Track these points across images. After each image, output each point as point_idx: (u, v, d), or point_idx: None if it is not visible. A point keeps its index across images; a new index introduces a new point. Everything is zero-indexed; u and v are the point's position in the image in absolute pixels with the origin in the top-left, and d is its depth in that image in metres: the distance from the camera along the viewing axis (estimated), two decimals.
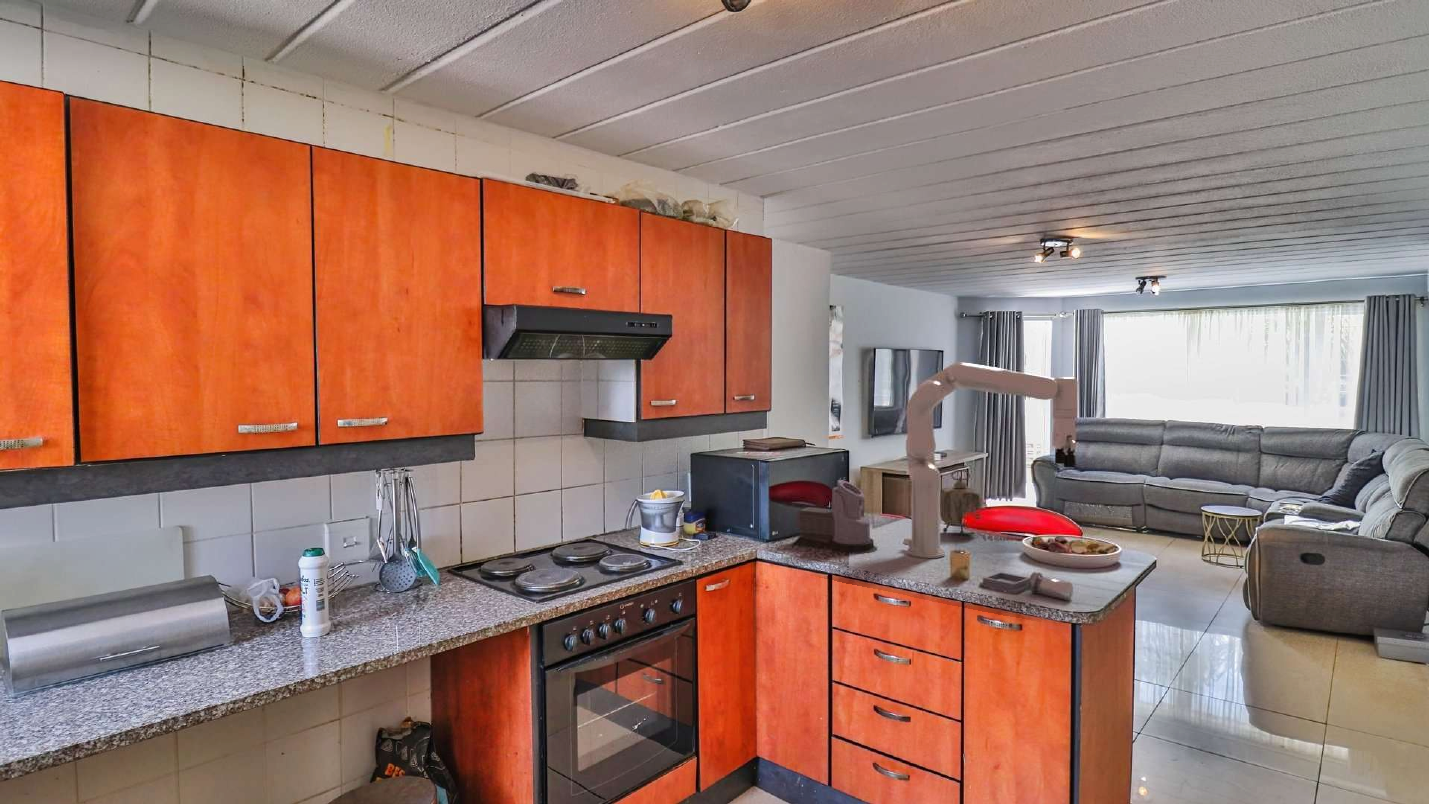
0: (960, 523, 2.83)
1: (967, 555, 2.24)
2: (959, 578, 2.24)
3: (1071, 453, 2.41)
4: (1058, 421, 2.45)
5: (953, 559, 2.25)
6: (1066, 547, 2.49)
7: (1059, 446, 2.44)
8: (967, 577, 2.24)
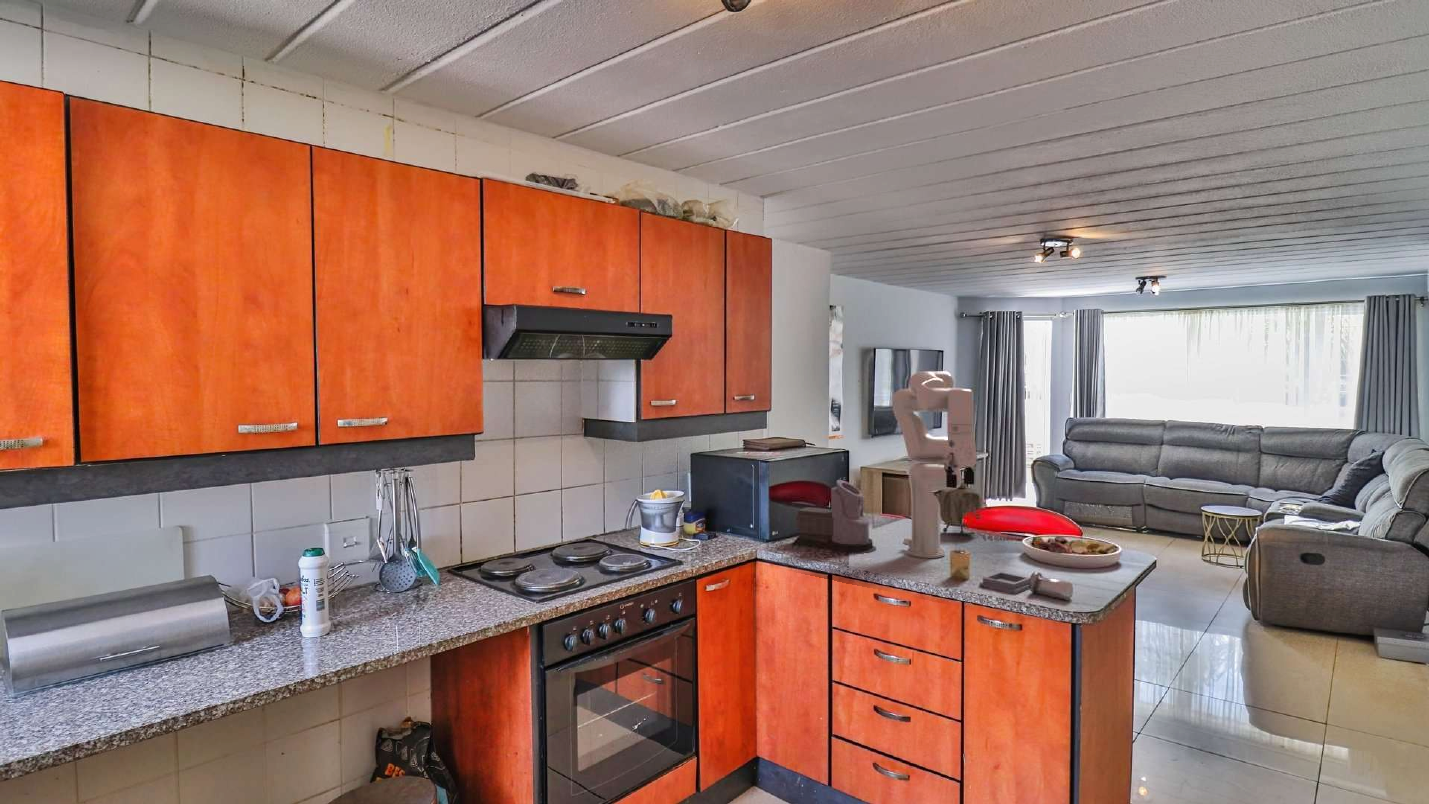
0: (960, 523, 2.83)
1: (967, 555, 2.24)
2: (959, 578, 2.24)
3: None
4: (972, 436, 2.24)
5: (953, 559, 2.25)
6: (1066, 547, 2.49)
7: (975, 463, 2.25)
8: (967, 577, 2.24)
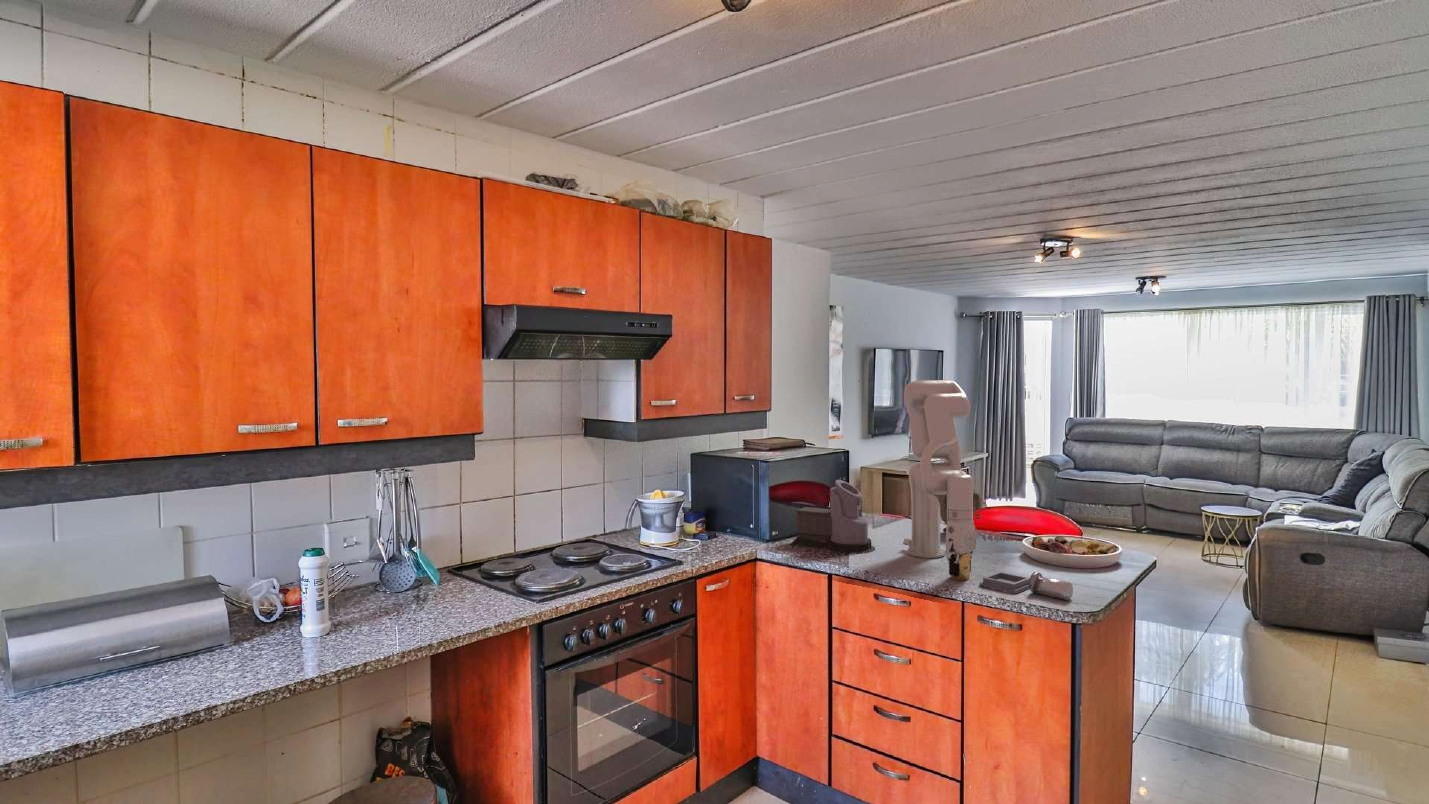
0: None
1: (967, 555, 2.24)
2: (959, 578, 2.24)
3: None
4: (971, 521, 2.25)
5: None
6: (1066, 547, 2.49)
7: (974, 548, 2.26)
8: (967, 577, 2.24)
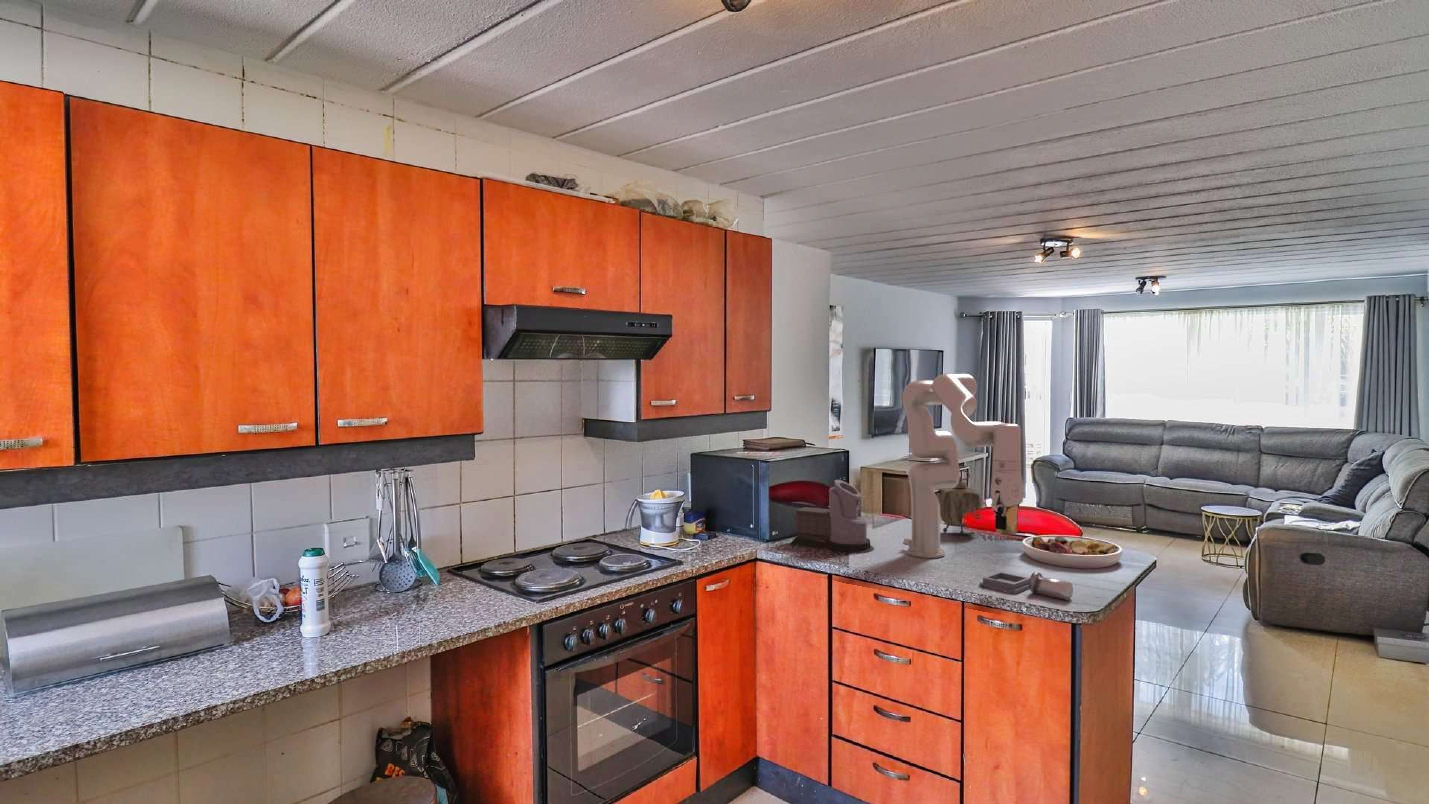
0: (960, 523, 2.83)
1: (1014, 508, 2.14)
2: (1006, 532, 2.14)
3: None
4: (1018, 473, 2.15)
5: None
6: (1066, 547, 2.48)
7: (1021, 501, 2.17)
8: (1014, 531, 2.14)
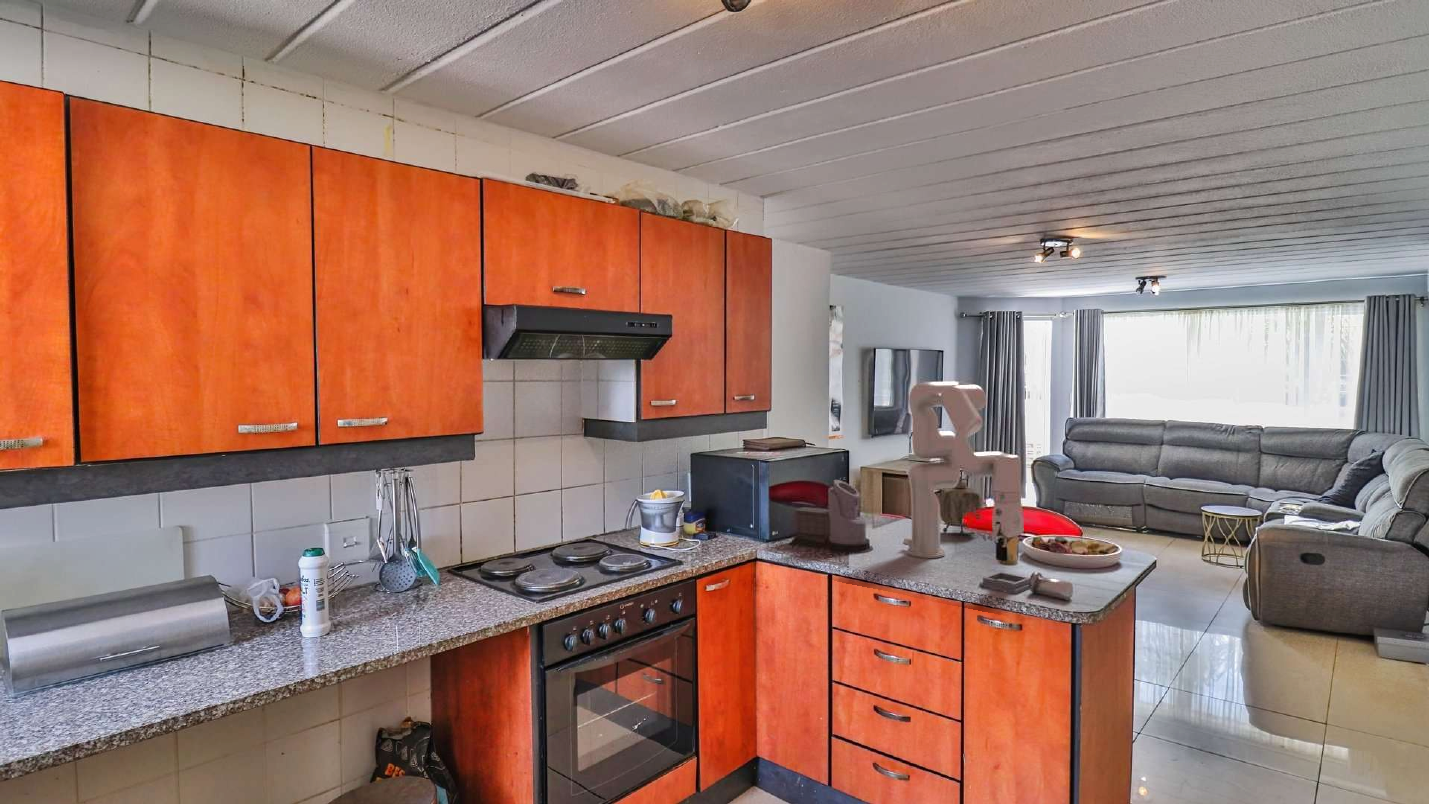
0: (960, 523, 2.83)
1: (1015, 539, 2.14)
2: (1007, 563, 2.14)
3: None
4: (1019, 504, 2.16)
5: None
6: (1066, 547, 2.48)
7: (1022, 531, 2.17)
8: (1015, 562, 2.14)
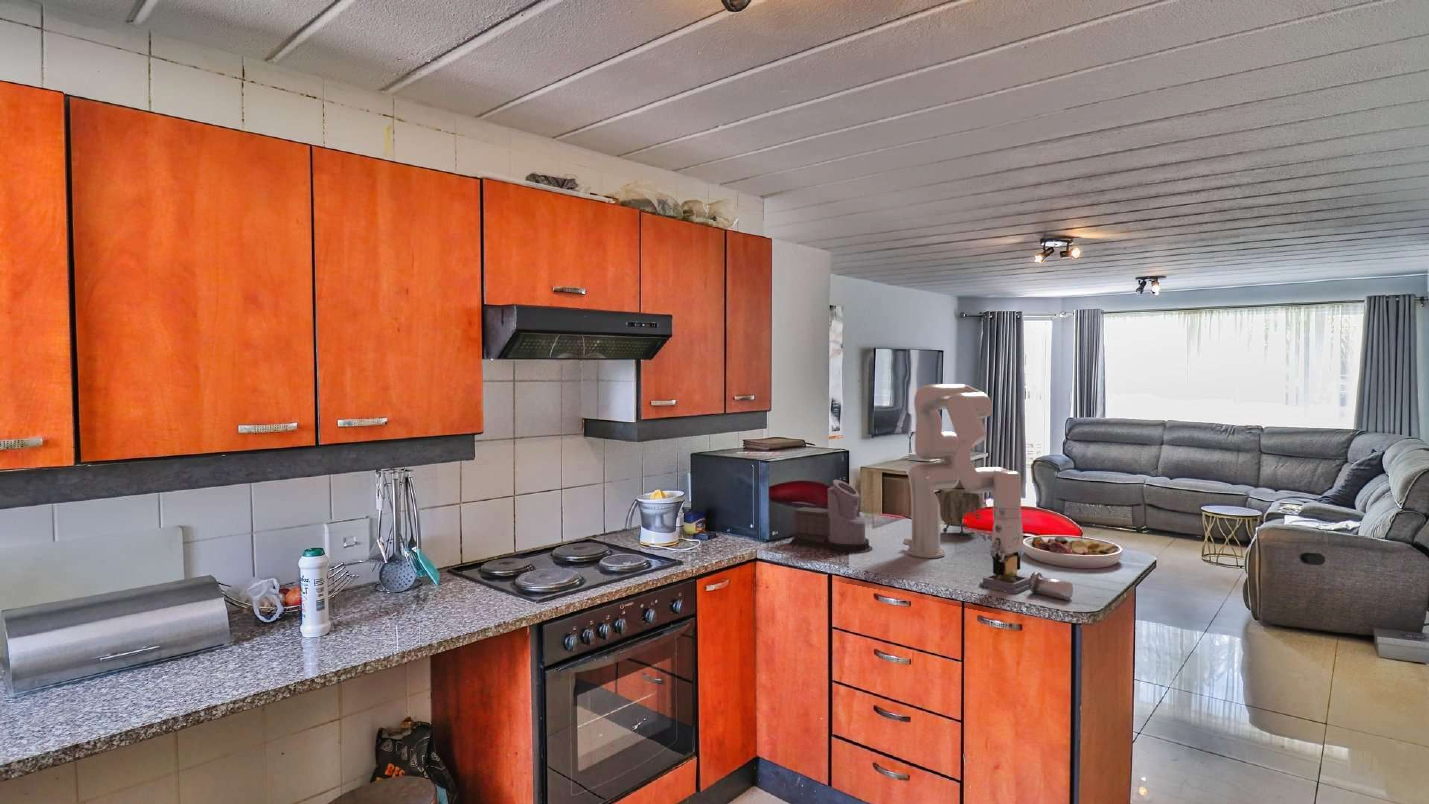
0: (960, 523, 2.83)
1: (1015, 559, 2.15)
2: None
3: None
4: (1019, 520, 2.16)
5: None
6: (1067, 547, 2.48)
7: (1022, 547, 2.17)
8: (1014, 582, 2.15)
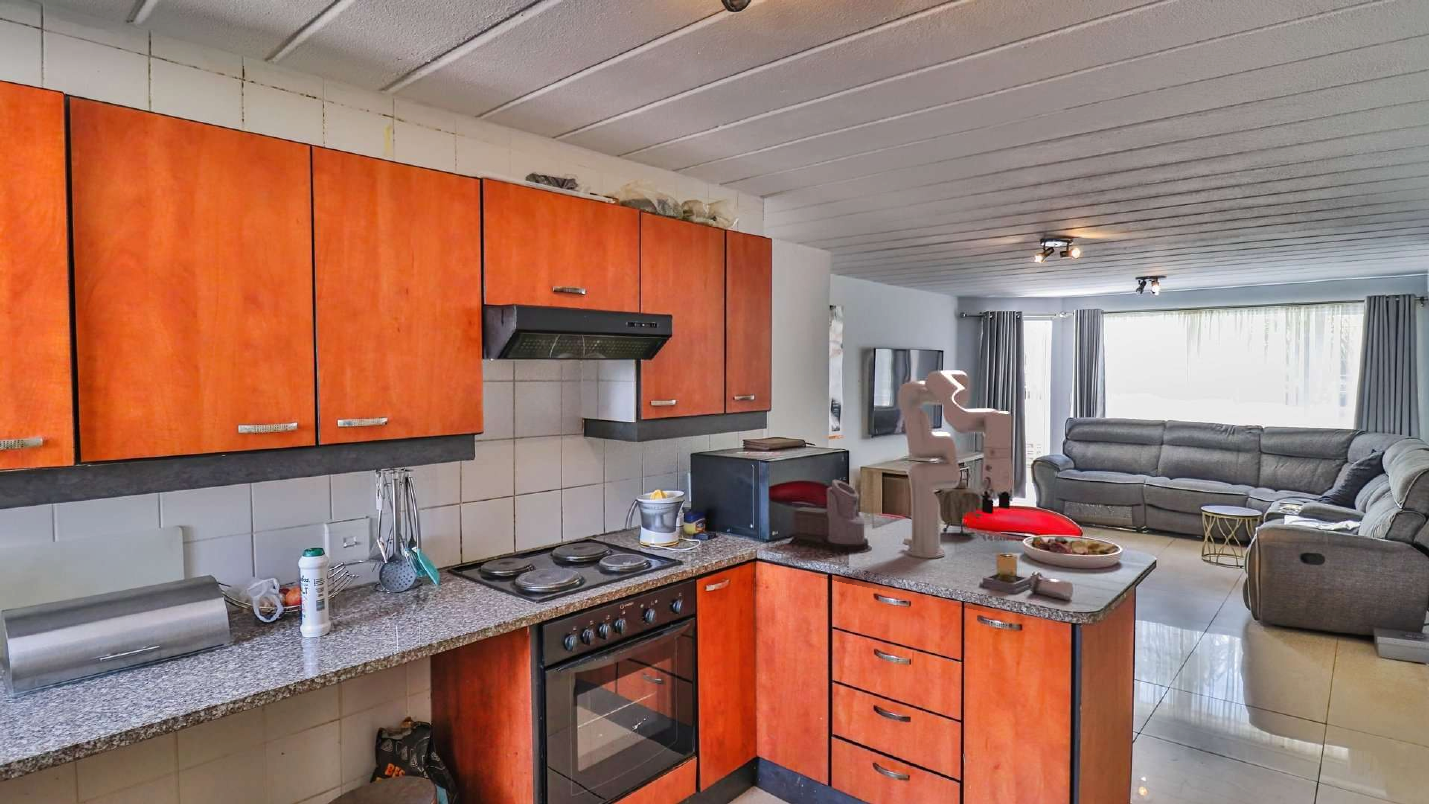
0: (960, 523, 2.83)
1: (1014, 559, 2.15)
2: None
3: None
4: (1009, 460, 2.17)
5: (1000, 563, 2.16)
6: (1067, 547, 2.48)
7: (1011, 487, 2.19)
8: (1014, 582, 2.15)
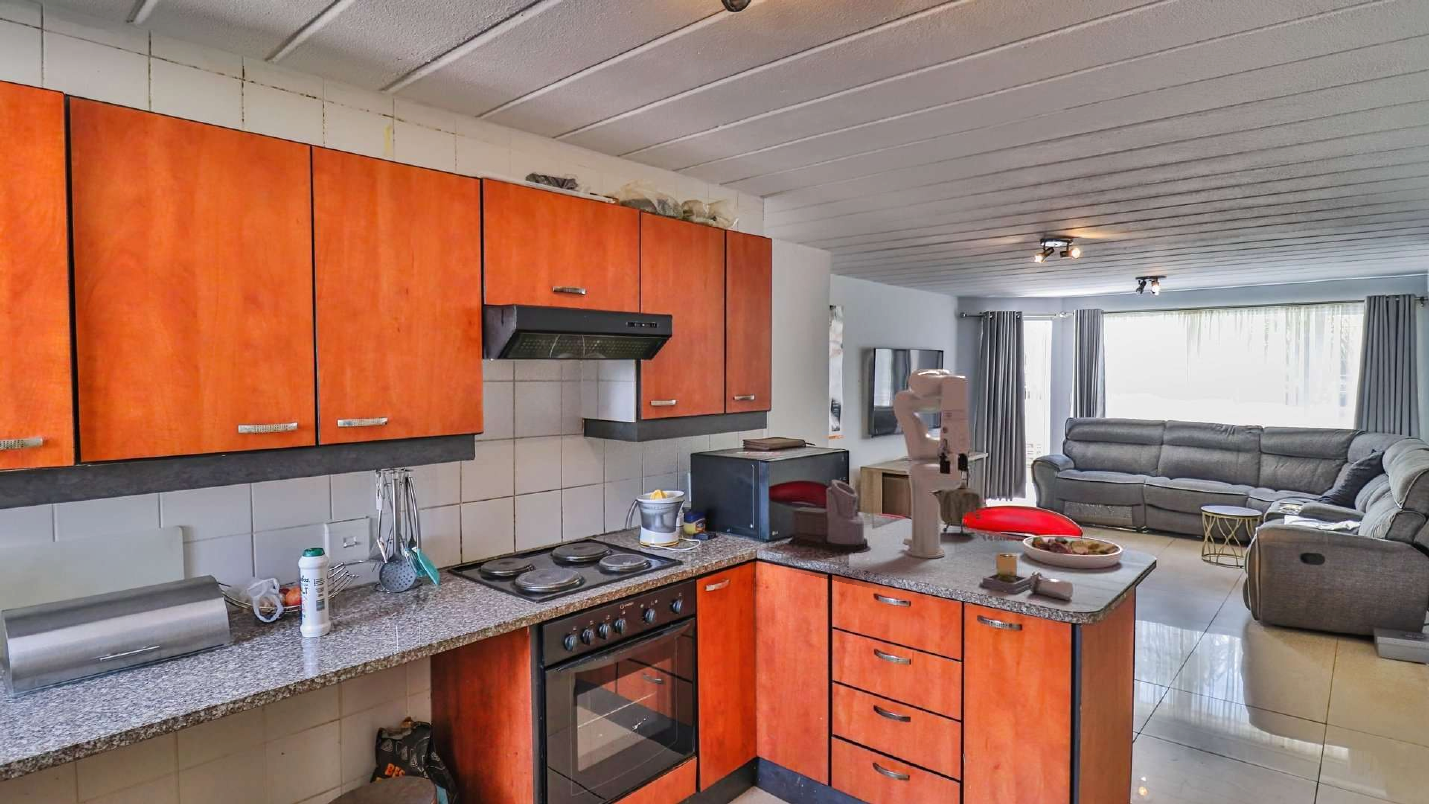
0: (960, 523, 2.83)
1: (1014, 559, 2.15)
2: None
3: None
4: (965, 423, 2.26)
5: (999, 563, 2.16)
6: (1067, 547, 2.48)
7: (968, 450, 2.27)
8: (1014, 582, 2.15)
